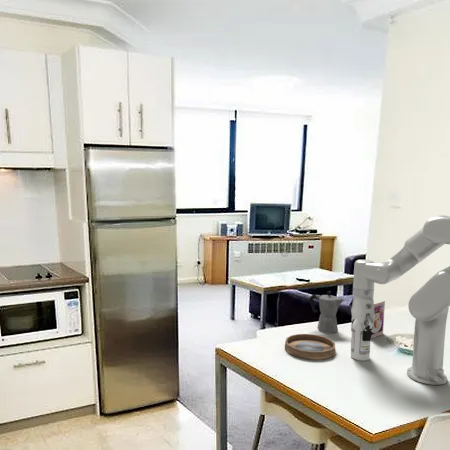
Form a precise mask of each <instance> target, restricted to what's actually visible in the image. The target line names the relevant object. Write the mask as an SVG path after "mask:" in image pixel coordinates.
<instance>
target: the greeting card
mask: <svg viewBox="0 0 450 450" xmlns="http://www.w3.org/2000/svg"><path fill="white" fill-rule="evenodd" d="M385 305H386V301H385V300H384V301H380V302H377V303H374V325H373V329H372V333H371V339H374V338H375V337H378V336H381V335H383V334H384V326H385V325H384V324H385V323H384V322H385Z"/></svg>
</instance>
